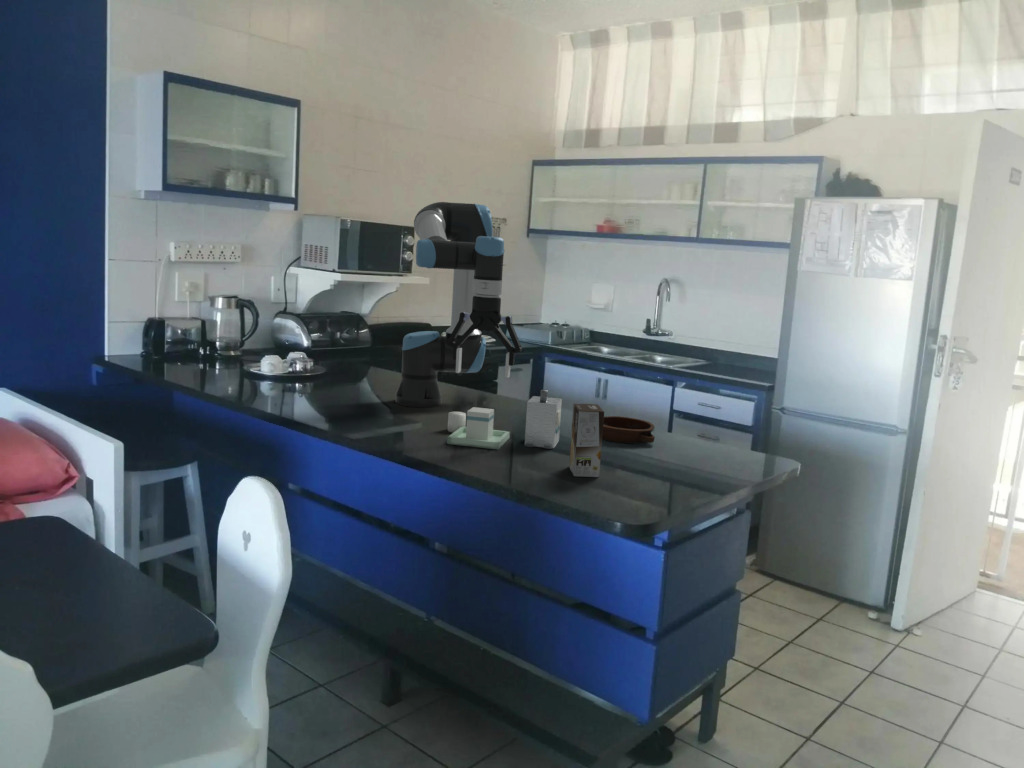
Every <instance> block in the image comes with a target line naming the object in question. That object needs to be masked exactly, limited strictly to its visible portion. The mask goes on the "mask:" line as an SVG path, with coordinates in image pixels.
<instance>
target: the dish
mask: <svg viewBox="0 0 1024 768" xmlns="http://www.w3.org/2000/svg"><path fill="white" fill-rule="evenodd" d="M654 430H655V425H654V424H653V422H650V421H647V420H643V419H639V418H634V417H629V416H628V417H627V416H620V415H619V416H618V415H617V416H615V415H612V416H610V415H608V416H606V415H604V422H603V434H602V440H604V441H608V442H612V443H620V444H621V443H622V444H638V443H649V444H652V443H654V442H655V438H656V437H655V435H653V434H652V431H654Z"/></svg>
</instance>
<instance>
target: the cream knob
mask: <svg viewBox="0 0 1024 768" xmlns="http://www.w3.org/2000/svg"><path fill="white" fill-rule="evenodd" d="M447 414H448V416H447V431H448V432H449V433H454V432H455V431H456V430H458V429H459V428H460V427H466V426H467V413H466V412H463V411H450V412H448V413H447Z"/></svg>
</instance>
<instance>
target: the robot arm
mask: <svg viewBox="0 0 1024 768" xmlns="http://www.w3.org/2000/svg"><path fill="white" fill-rule="evenodd" d="M492 218H493V217H492V213H491V210H490V208H489V206H487V205H485V204H478V203H465V202H464V203H462V202H447V201H439V202H438V201H437V202H434V203H433V202H432V203H430V204H428V205H426V206H424V207H423V208H421V209H420V210H419V211H418V212H417V214H416V215H415V217H414V220H413V230H414V231H415V235H417V237H418V238H419V240H417V241H416V246H415V247H416V249H415V264H416V266H417V267H419V268H426V269H443V270H444V269H445V270H453V277H452V279H453V280H452V281H453V282H452V301H451V316H450V317H451V321H450V327H448V328H447V329H446V330H445V331H446V332H445V335H440V333H439V331H437V330H435V331H434V330H432V331H431V330H425V331H415V332H410V333H407V334H405V335H404V337H403V339H402V347H401V350H402V353H401V354H402V355H401V356H402V357H401V358H402V359H401V379H400V381H399V384H398V387H397V390H396V392H395V397H394V398H395V399H394V401H395V404H397V405H399V406H400V405H401V406H404V407H413V408H432V407H437V406H440V405H442V403H443V402H442V401H443V400H442V397H443V396H442V393H441V389H440V386H439V383H438V373H439V372H440V373H455V374H459V373H464V374H468V373H471V374H472V373H478V372H480V370H481V369H482V368H483V364H484V361H485V355H486V349H487V348H486V346H487V340H486V338H485V337H483V336H482V331H485V332H488V333H489V332H492V331H493V333H494V334H495V335H496V336H497V338H498V339H499V340H500V342H501V343H502V344H503V346H504V347H505V349H506V350H507V352H506V353H505V368H504V379H508V378H510V376H511V366H514V364H515V356H516V354H517V353H520V352H521V351H522V350H523V347H522V344H521V342H520V339H519V337H518V334H517V332H516V330H515V328H514V325H513V317H512V315H508V316H506V315H505V316H503V315H501V307H502V306H501V305H502V304H501V303H502V298H501V297H500V296H501V295H502V288H503V286H502V285H503V270H504V269H503V266H504V255H505V240H504V239H503V238H502V237H499V236H493V233H494V232H493V220H492ZM501 322H502V323H503V324H504V325H505V326H506V329H507V332H508V334H509V337H510V339H511V342H510V340H509V338H507V336H506V335H505V333H504V332H503V330H502V328H501V327H500V325H499V324H500V323H501Z"/></svg>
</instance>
